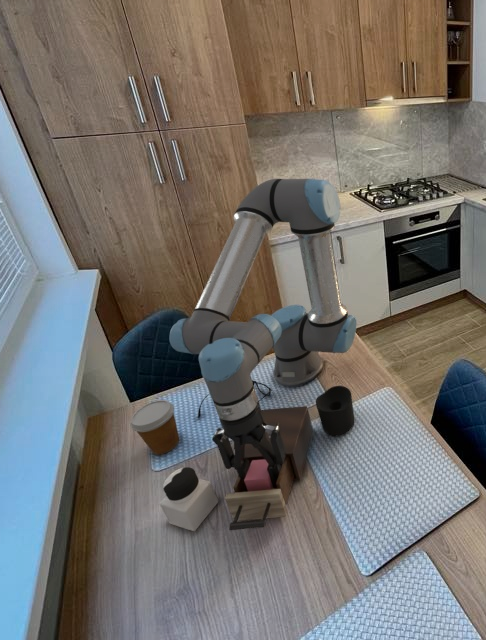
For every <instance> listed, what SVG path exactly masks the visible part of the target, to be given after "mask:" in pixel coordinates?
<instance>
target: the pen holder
mask: <svg viewBox="0 0 486 640" xmlns="http://www.w3.org/2000/svg"><path fill="white" fill-rule="evenodd" d="M353 403H354V402H353V396H352V391H351V390H350V389H349V388H348V387H347V386H344V385H333V386H331V387H330V388H328V389H326V391H324V392H323V393H321V394H319V396H317V397H316V399H315V406H316V409H317V414H318V416H319V417H318V418H319V420H320V424H321V427H322V430H323V432H324V433H325V434H326V435H327V436H330V437H335V438H337V437H340V436H344V435H345V434H347V433H349V432H350V431H351V429H352V428H353V426H354V425H355V412H354V404H353Z"/></svg>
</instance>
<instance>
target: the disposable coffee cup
mask: <svg viewBox="0 0 486 640" xmlns="http://www.w3.org/2000/svg"><path fill="white" fill-rule="evenodd" d="M129 425H130V428H131V430H133V431H135V432H136V433H137V434H138V436H139V437H140V438H141V440H142V441H143V442H144V443H145V444H146V445H147V447H148V448H149V450H150V451H151V452H152V453H153V454H154V455H164V454H166V453H169V452H171V451H173V449H175V448H176V447H177V446H178V444H179V443H180V435H179V430H178V426H177V422H176V417H175V406H174V404H173V403H171V402H169V400H167V399H156V400H153V401H150V402H148V403H145V404H143V405H142V406H140V407H139V408H138V409H136V410H135V411H134V413H132V415H131V418H130V423H129Z"/></svg>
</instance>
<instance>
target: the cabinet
mask: <svg viewBox="0 0 486 640" xmlns="http://www.w3.org/2000/svg"><path fill="white" fill-rule="evenodd" d="M261 411H262V416H263V420H264V421H265V422H266V423H267V425H270V426H275V424H276V423H279V424H280V425H281V426H280V434H281V438H282V441H283V444H284V447H285V451H286V456H290V458H291V461H292V465H293V468H294V472H295V475H294V479H293V482H297V481H301V479H302V475H303V472H304V468H305V465H306V461H307V457H308V454H309V449H310V447H311V442H312V438H313V435H314V429H313V428H314V427H313V423H312V421H311V416H310V412H309V407H308V405H305V406H304V405H303V406H293V407H292V406H291V407H277V408H266V409H261ZM264 433H265V434H266V438H267V440H268V441H269V443H270V444H271V441H270V438H269V437H268V436H269V435H268V433H267V432H264ZM271 445H272V444H271ZM245 456H246V457H245ZM245 456H244V457H245V459H244V461H245V460H249V459H260V458H264V457H263V456H262V454H261V453H260V452H259V450H258V449H257V448H256V449H255V448H254V447H253V445H252V444H245Z"/></svg>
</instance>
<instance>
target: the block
mask: <svg viewBox="0 0 486 640" xmlns="http://www.w3.org/2000/svg"><path fill="white" fill-rule="evenodd" d="M268 465H269V464H268V463H267V461H266V460H265V459H263V460H252V462H251V465H250V467H249V470H248V472H247V475H246V477H245V479H244V482H245V484H246V487H247V490H248V492H249V491H260V490H272V489H274V488H273V485H272V482H271V479H270V476H269V473H268V470H267V467H268Z"/></svg>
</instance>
